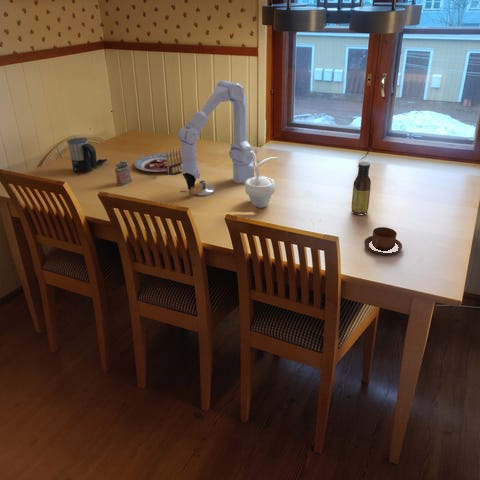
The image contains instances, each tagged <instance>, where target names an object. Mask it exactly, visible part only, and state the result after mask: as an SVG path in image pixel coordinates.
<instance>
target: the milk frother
mask: <svg viewBox="0 0 480 480" xmlns="http://www.w3.org/2000/svg"><path fill="white" fill-rule="evenodd" d="M66 142H67V145H68V149H69V155H70V160H71V164H72V172H73V173H74V174H86V173H89V172H92V171H93V169H96V168H97V167H98V166H101V165H103V164H105V163H106V162H107V161H108V159H107V158H104V159H103V158H102V159H100V158H99V159H98V158H97V152H96V148H95V146H93V145H92V144H90V143H88V138H87V137H75V138H74V137H73V138H70V139H68V140H66ZM97 159H98V160H97Z"/></svg>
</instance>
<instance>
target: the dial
mask: <svg viewBox="0 0 480 480" xmlns="http://www.w3.org/2000/svg"><path fill="white" fill-rule="evenodd" d="M215 189H216V188H215V186H213V185H211V184H206V180H200V181H199V182H198V183H195V185H193V186H192V187H191V190H190V194H191V195H192V196H193V195H194V196H195V197H207V196H212V195H213V194H214V193H215V192H216V190H215Z"/></svg>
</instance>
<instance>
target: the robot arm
mask: <svg viewBox="0 0 480 480" xmlns="http://www.w3.org/2000/svg"><path fill="white" fill-rule="evenodd" d="M244 90H245V87H244V86H243V85H241V84H240V83H238V82H232V81H228V80H226V79H222V80H220V81H218V83H217V85H215V87H214V88H213V92H212V94H211V95H210V97H209V99H208V100H207V101H206V102H205V105H204V106H203V108H202V109H201V110H200V111H196V112H194V113H193V114H192V117H191V118H190V120H189V121H188V122H187V123H186V124H185V126H183V127H181V128H180V129H179V131H178V134H177V135H176V136H177V139H178V140H179V141H180V146H181V147H180V148H181V153H182V164H181V168H182V169H180V171H181V172H183V173H182V176H183V178H184V180H185V181H186V185H187V189H188V191H191V187H192V186H193V185H195V184H196V181H197V179H200V178H201V174H200V172H199V169H198V160H197V145H196V143H197V142H198V140H199V136H200V132H202V130H203V129H204V128H205V126H206V125H207V123H208V122H209V116H210V115H211V114H212V113H213V112H214V110H216V108H217V107H218V106H219V105H220V104H221V103H225V102H231V104H232V107H233V108H232V111H233V113H232V114H233V141H232V142H231V144H230V150H229V153H228V156H229V157H230V159H231V160H232V161H231V162H232V176H233V177H232V178H233V179H232V180H233V182H234V183H237V184H245V181H246V180H247V179H249V178H253V177H256V175H255V167H254V165H253V163H254V162H253V161H252V160H253V158H254V156H253V154H252V153H250V152H249V151H253V150H252V146H251V144H250V142H249V141H248V139H247V138H248V122H247V121H248V117H247V112H248V111H247V97H246V95H245V91H244Z"/></svg>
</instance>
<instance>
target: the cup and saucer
mask: <svg viewBox="0 0 480 480" xmlns="http://www.w3.org/2000/svg"><path fill="white" fill-rule="evenodd" d="M397 235H398V233H397V231H395V230H394V229H392V228H390V227H385V226H379V227H376V228H374V229H373V230H372V235H371V236H368V237H366V238H365V239H364V241H363V242H364V246H365V248H366V249H368V250H369V251H370V252H372V253H375V254H377V255H378V254H379V255H383V256H384V255H385V256H386V255H387V256H388V255H393V254H398V253H399V252H400V251H402V248H403V244H402V242H401V241H400V240H398V239H397ZM371 241H372V244H373V246H374V247H375V248H376V249H378V250H381V251H388V250H390V249H392V248H393V247H394V246H395V243H396V244H397V245H398V247H399V248H398V251H396V252H392V253H383V252H378V251H374V250H372V249H371V248H370V247H369V243H370V242H371Z"/></svg>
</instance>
